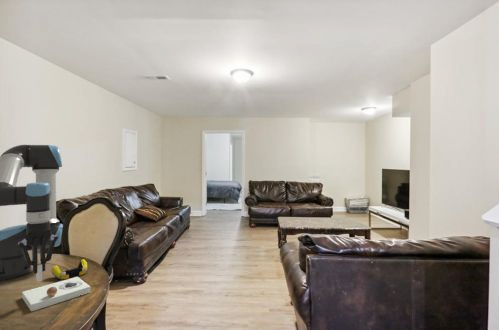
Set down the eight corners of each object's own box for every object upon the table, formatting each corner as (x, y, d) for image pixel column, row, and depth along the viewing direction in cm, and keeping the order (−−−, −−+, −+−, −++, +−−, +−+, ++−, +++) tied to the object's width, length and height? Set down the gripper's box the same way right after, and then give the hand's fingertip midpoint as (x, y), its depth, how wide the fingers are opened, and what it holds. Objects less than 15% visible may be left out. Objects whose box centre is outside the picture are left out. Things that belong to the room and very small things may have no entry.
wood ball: (45, 296, 109) (45, 287, 109) (55, 293, 111) (55, 284, 111) (47, 298, 107) (47, 289, 107) (58, 295, 109) (58, 286, 109)
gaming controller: (50, 277, 134) (55, 283, 127) (50, 265, 134) (55, 271, 127) (85, 268, 145) (91, 273, 138) (85, 258, 145) (91, 262, 138)
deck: (22, 297, 113) (22, 291, 113) (77, 282, 128) (77, 276, 128) (31, 311, 102) (31, 304, 102) (90, 292, 117) (90, 286, 117)
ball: (63, 291, 118) (63, 283, 119) (72, 289, 121) (72, 281, 121) (65, 292, 116) (65, 284, 117) (75, 290, 118) (75, 282, 119)
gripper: (19, 226, 103) (20, 288, 104) (60, 220, 113) (61, 277, 113) (15, 222, 108) (16, 282, 109) (55, 217, 118) (55, 272, 118)
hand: (39, 280), depth 111 cm, fingers closed
